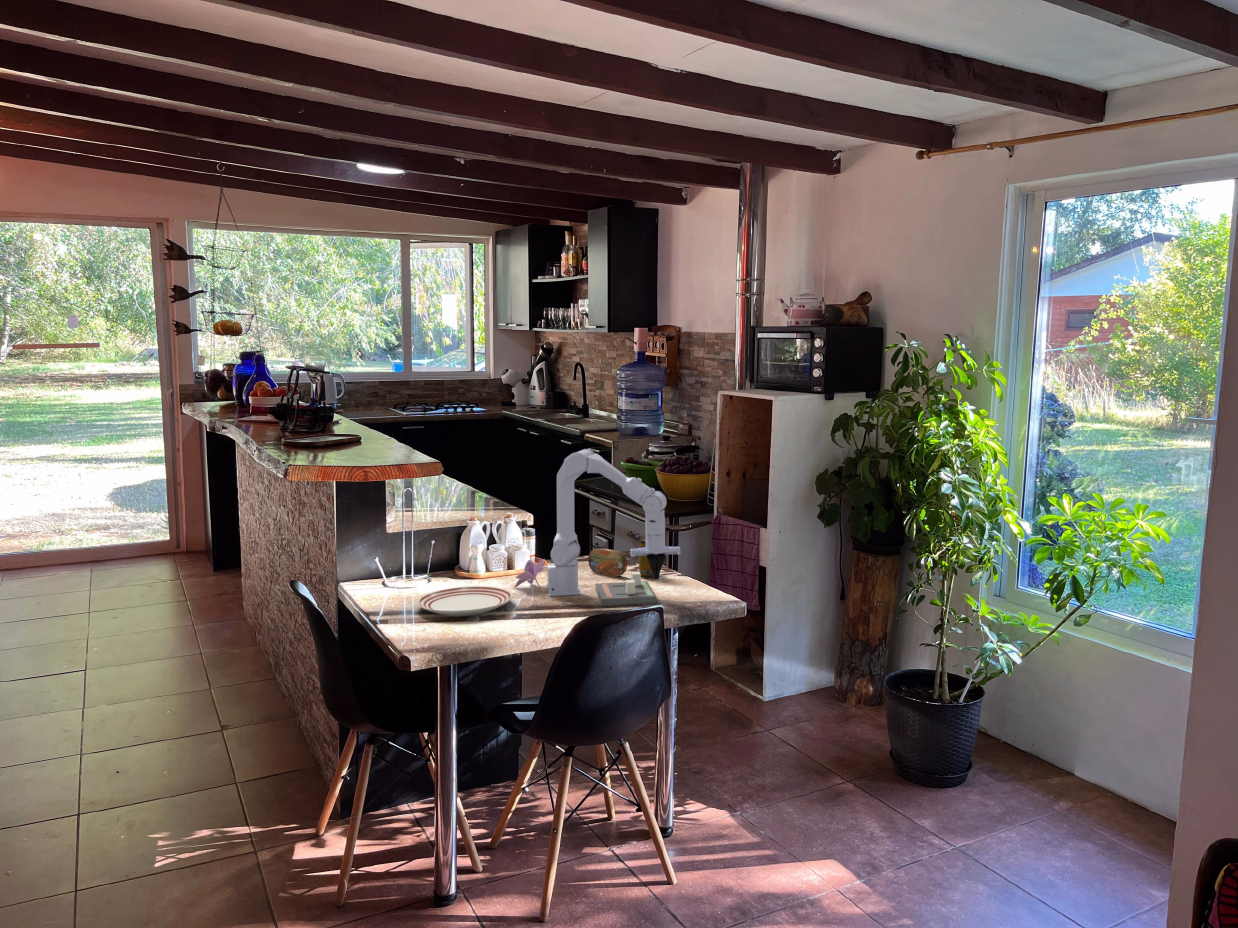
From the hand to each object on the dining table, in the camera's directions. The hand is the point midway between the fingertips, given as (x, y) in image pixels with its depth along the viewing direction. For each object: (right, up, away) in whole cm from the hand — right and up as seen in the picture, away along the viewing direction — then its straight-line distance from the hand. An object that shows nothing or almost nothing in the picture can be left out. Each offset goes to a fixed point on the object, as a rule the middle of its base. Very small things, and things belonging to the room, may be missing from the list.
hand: (655, 578), depth 272 cm
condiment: (-1, -3, +27) cm, 27 cm away
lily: (-38, -5, +15) cm, 41 cm away
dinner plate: (-55, -8, -4) cm, 56 cm away
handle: (-6, -3, +9) cm, 11 cm away
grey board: (-9, -6, +4) cm, 11 cm away
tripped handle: (-7, -4, 0) cm, 8 cm away
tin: (-14, -3, +30) cm, 33 cm away
